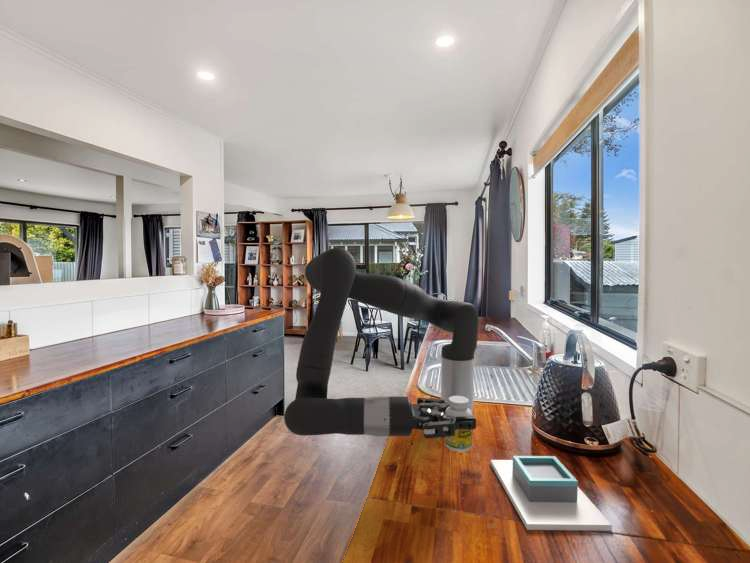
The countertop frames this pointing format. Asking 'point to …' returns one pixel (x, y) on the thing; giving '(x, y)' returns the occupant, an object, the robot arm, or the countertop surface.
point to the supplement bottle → (462, 436)
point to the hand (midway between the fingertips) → (471, 416)
